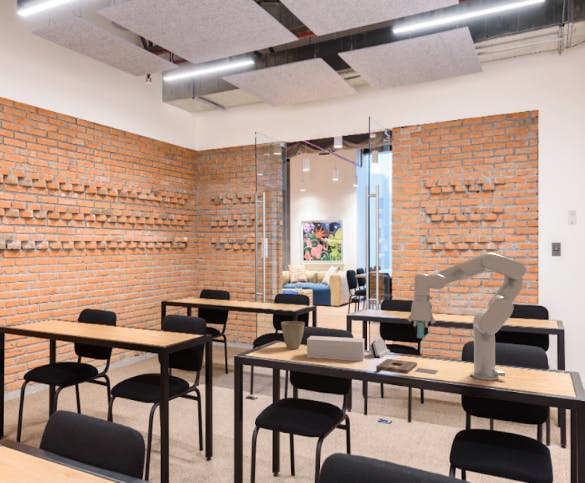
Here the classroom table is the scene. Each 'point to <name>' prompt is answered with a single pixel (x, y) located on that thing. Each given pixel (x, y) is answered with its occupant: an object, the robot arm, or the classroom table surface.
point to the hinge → (379, 348)
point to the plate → (426, 371)
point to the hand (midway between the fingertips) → (421, 334)
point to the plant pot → (292, 333)
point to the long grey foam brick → (335, 348)
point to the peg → (420, 329)
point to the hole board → (396, 366)
